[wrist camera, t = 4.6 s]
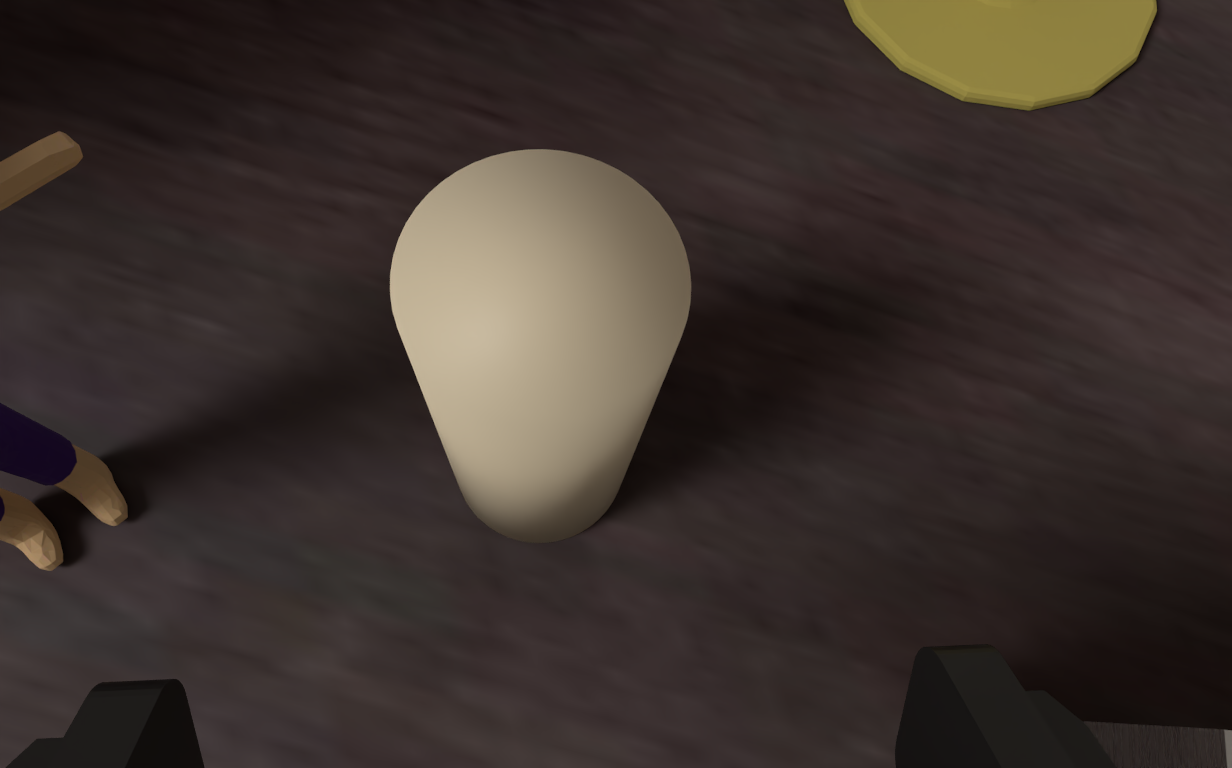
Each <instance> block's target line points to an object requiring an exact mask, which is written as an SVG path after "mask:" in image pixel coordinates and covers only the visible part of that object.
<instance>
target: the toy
mask: <svg viewBox="0 0 1232 768" xmlns="http://www.w3.org/2000/svg"><path fill="white" fill-rule="evenodd" d="M82 158H83V155H82V152H81V149H80V146H79V144H77V143H76V142H75V141H73V139H71V138H70V137H69V136H68V135H67V134H65V133H63V132H60V131H58V132H56V133H54V134H52V135H50V136H47V137H45V138H43V139H41V140H39V141H37V142H35V143H34V144H32V145H30V146H28V147H26V148H25V149H23V150H21V151H19V152H17V153H16V154H14V155H12V156H10V157H8V158H7V159H5V160H3V161H1V162H0V211H1V210H3V209H5V208H6V207H8V206H10V205H11V204H13V203H15V202H16V201H18V200H20V199H21V198H23V197H25V196H26V195H28V194H30V193H31V192H33V191H35V190H36V189H38V188H40V187H41V186H43V185H45V184H46V183H48V182H50V181H51V180H53V179H55V178H56V177H58V176H60V175H61V174H63V173H65V172H66V171H68V170H70V169H71V168H73V167H75V166H76V165H77V164H78V163H79V162H80V160H81V159H82ZM0 470H1V471H4V472H7V473H10V474H13V475H16V476H20V477H23V478H26V479H29V480H32V481H34V482H37V483H40V484H43V485H55V486H57V487H59V488H61V489H63V490H65V491H66V492H68V493H69V494H71V495H72V496H74V497H76V498H77V499H78V500H79V501H80V502H81V503H82V504H83V505H84V506H85V507H86V508H88V509H89V510H90V511H91V512H92V513H93V514H94V515H95V516H96V517H97V518H98V519H100V520H101V521H102V522H104V523H107V524H109V525H112V526H116V525H119V524H120V523H121V522H123V521H124V520H125V519H127V518H128V513H127V504H126V502H125V500H124V497H123V496H122V494H121V493H120V491H119V489H118V488H117V486H116V484H115V482H114V480H113V476H112V474H111V472H110V470H109V469H108V467H107V465H106V464H104V463H103V462H102V461H101V460H100V459H99V458H97V457H96V456H95V455H93V454H91V453H89V452H87V451H85V450H83V449H81V448H79V447H77V446H75V445H73V444H71V442H70V441H69V440H67V439H66V438H64V437H63V436H62V435H60V434H58V433H56V432H54V431H52V430H50V429H48V428H47V427H45V426H43V425H41V424H39V423H37V422H35V421H33V420H31V419H29V418H28V417H26V416H24V415H22V414H20V413H18V412H16V411H14V410H12V409H10V408H9V407H7V406H5V405H3V404H1V403H0ZM0 540H3V541H5V542H7V543H10V544H12V545H15V546H16V547H18V548H19V549H20V550H21V551H23V552H24V554H25V555H26V556H27V557H28V558H29V559H30V560H31V561H32V562H33V563H34V564H35V565H36V566H37V567H38V568H40V569H43V570H49V571H52V570H53V569H55V568H56V567H57V566H58V565H60V564H61V563H62V562H63V551H62V547H61V542H60V539H59V537H58V534H57V532H56V530H55V528H54V526H53V525H52V523H51V522H50V521H49V520H48V519H47V518H46V517H45V516H44V514H43V513H42V512H41V511H40V510H39V509H38V508H37V507H36V506H35V505H34V504H33V503H32V502H31V501H30V500H28V499H26V498H24V497H22V496H20V495H17V494H15V493H12V492H9V491H7V490H4V489H2V488H0Z"/></svg>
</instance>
